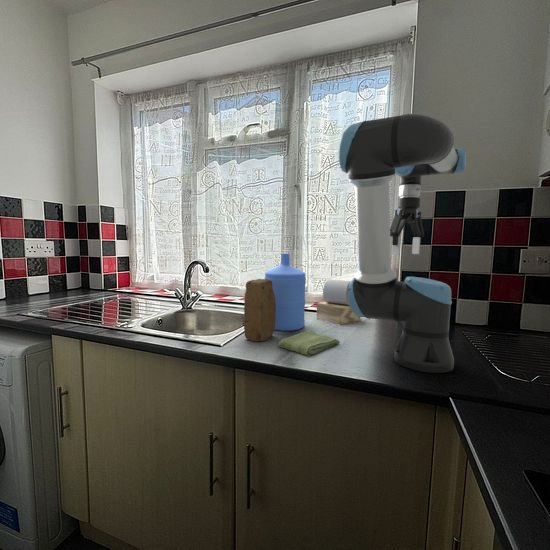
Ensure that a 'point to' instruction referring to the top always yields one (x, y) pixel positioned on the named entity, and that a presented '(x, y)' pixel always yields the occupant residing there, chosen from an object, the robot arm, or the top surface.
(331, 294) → the toilet paper
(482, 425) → the top surface
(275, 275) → the water jug
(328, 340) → the washcloth
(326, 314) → the oak brick
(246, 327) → the block
